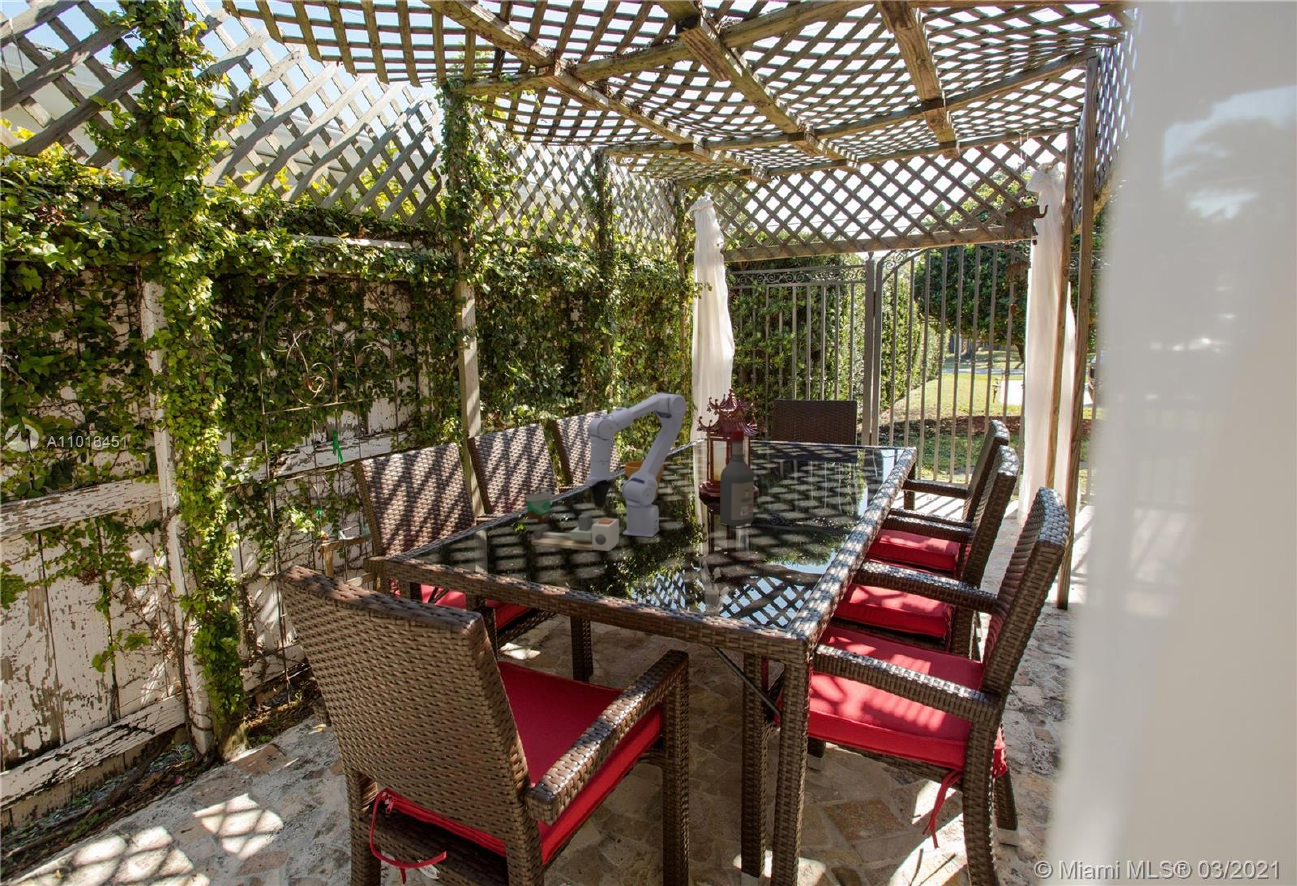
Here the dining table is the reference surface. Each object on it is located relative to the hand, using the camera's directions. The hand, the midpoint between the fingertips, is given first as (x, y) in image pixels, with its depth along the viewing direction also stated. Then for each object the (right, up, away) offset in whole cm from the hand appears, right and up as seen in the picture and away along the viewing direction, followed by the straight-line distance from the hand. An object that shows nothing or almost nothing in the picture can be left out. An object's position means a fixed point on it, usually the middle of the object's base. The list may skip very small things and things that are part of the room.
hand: (599, 506), depth 193 cm
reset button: (+2, -6, -4) cm, 7 cm away
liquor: (+42, -8, +18) cm, 46 cm away
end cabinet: (+2, -11, -3) cm, 12 cm away
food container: (-20, -7, +23) cm, 32 cm away
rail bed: (-9, -11, 0) cm, 14 cm away
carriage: (-4, -9, -1) cm, 10 cm away
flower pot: (+13, -2, +52) cm, 53 cm away
